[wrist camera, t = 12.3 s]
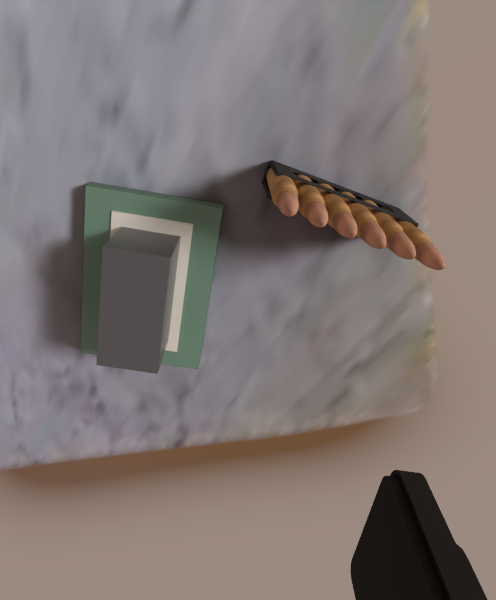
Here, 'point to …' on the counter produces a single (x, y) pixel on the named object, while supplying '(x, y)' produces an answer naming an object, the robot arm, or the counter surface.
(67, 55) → the counter surface
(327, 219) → the ammunition clip
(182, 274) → the header board
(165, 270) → the block
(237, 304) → the counter surface
